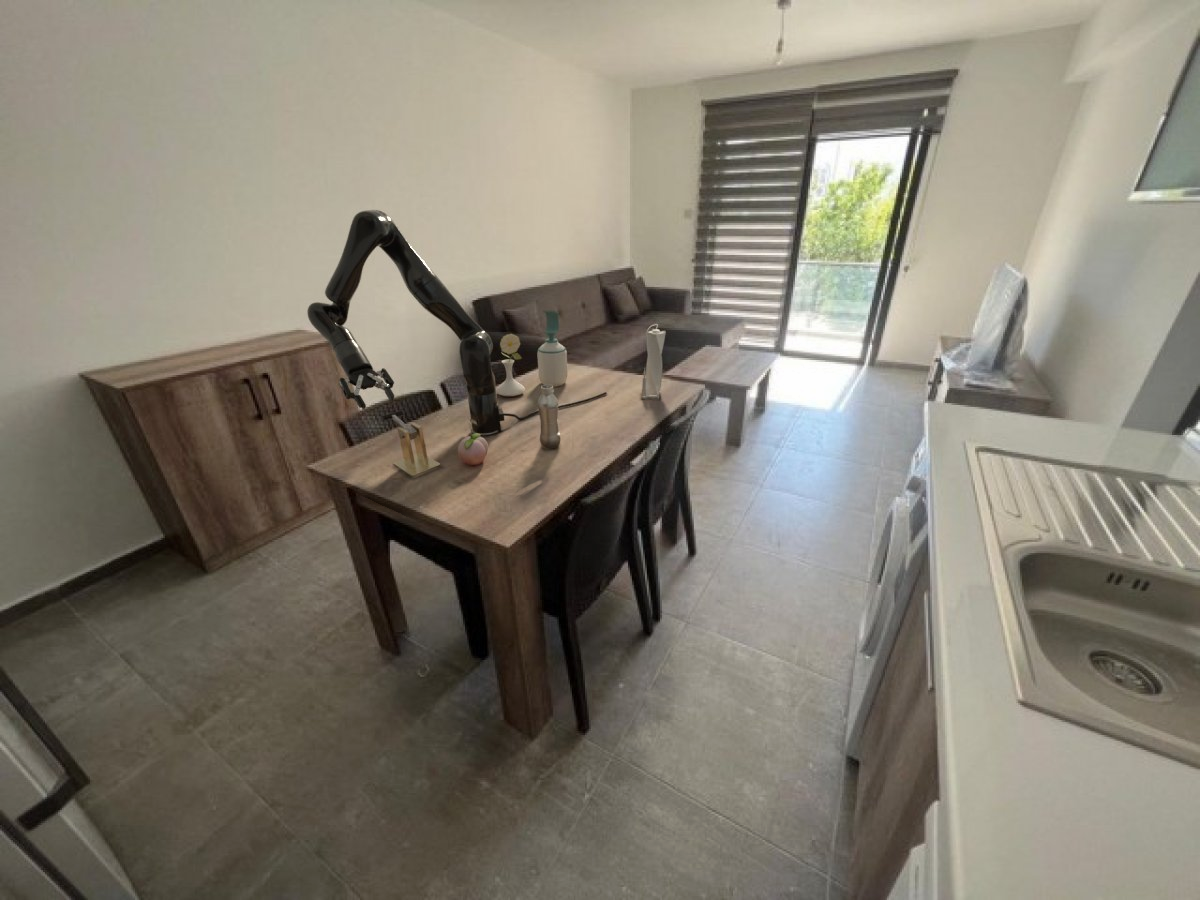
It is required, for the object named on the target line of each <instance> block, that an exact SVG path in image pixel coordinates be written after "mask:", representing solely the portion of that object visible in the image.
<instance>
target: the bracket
mask: <svg viewBox="0 0 1200 900" xmlns="http://www.w3.org/2000/svg"><path fill="white" fill-rule="evenodd" d="M411 426H412V427H413V428H414V429H415V430H416V431H417V438H415V439H413V442H414V448H415V453H416V454H414V452H413V447H412V442H411V440H410V437H409V432H408V431H407V430H405V429H403V428H401V427H400V426H399V427H397V434H398V437H399V443H400V447H401V452H402V456H403V459H400V460H398V461H395V462H392V464H393V465H394V466H395V467H397V468H399V470H401V471H403V472H405V473H407V474H408V475H409V476H410V477H414V476H417V475H420V474H422V473H424V472H426V471H429V470H432V469H435V468H436V467H439V466H441V465H442V464H441V463H440V462H439V461H437V460H434V459H433V458H431V457H429V456H428V454H427V448H426V443H425V442H426V441H425V437H424V431H423V427H422V426H421V425H419V424H417V423H416V422H411V423H410V427H411Z"/></svg>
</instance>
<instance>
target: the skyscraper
mask: <svg viewBox="0 0 1200 900" xmlns="http://www.w3.org/2000/svg"><path fill="white" fill-rule="evenodd" d="M654 326H656V327H655V328H654V329H651V328H652V327H654ZM658 327H659V324H658V323H653V324H651V325H650V326H649V327H648V328H647V329H646V331H645V333H646V334H645V335H646V351H647V358H646V366H645V367H644V369H643V377H642V384H641V385H642V386H641V398H640V399H641V400H648V401H649V400H651V401H659V400H660V393H661V387H662V379H663V357H662V354H663V350H664V345H665V339H666V334H667V333H666V330H660V329H658ZM650 329H651V331H649V330H650ZM659 391H660V392H659ZM658 394H659V395H658ZM649 395H657V396H649ZM642 396H645V397H642Z"/></svg>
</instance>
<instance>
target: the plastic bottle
mask: <svg viewBox="0 0 1200 900" xmlns="http://www.w3.org/2000/svg"><path fill="white" fill-rule="evenodd" d="M554 391H555V390H554V387H553V386H552V385H544V384H542V385H541V386H540V393H541V395H540V396H539V398H538V400H537V404H536V405H537V411H539V413H538V414H539V419H540V434H539V442H540V445H541V446H542V447H543V448H544V449H547V450H548V449H550V450H551V449H555V448H557V447H559V445H560V444H561V434H560V429H559V423H558V421H559V420H558V419H559V417H558V414H559V408H558V406H559V400H558V398H557V397H556V395H555V394H554Z"/></svg>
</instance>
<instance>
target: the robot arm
mask: <svg viewBox="0 0 1200 900" xmlns="http://www.w3.org/2000/svg"><path fill="white" fill-rule="evenodd" d="M377 247H379V248H380V249H381V250H382V251H383V252H384V253H385V254H386V255H387V256H388V257H389V258H390V260H391V261H392V262H393V263H394V265H395V266H396V268H397V270H398V272H399V274H400V276H401V278H402V280H403V283H404V284H405V286H406V289H407V290H408V292H409V293H410V294H411V296H413V298H414V299H415V300H416V302H418V304H419V305H420V306H421V307H422V308H423V309H425V311H426V312H428V313H429V314H431V315H432V316H433V317H435V318H436V319H437V320H439V321H441V322H442V323H443V324H444V325H446V326H447V327H448V328H449V329H450V330H451V331H452V332H453V333H454V334H455V336H456V337H457V338H458V339H459V341H460V343H459V346H458V351H459V359H460V365H461V371H462V376H463V378H464V380H465V386H466V393H467V401H468V407H469V408H468V409H469V415H470V418H469V423H471V424H470V425H471V432H472V434H475V433H478V434H481V435H480V437H487V436H492V435H496V434H498V433H501V432H502V425H501V422H505V417H514V418H516V420H519V421H522V420H526V419H528V418H530V417H532V416H534V415H536V414H539V410H536V411H533V412H531V413H529V414H527V415H525V416H523V417H519V416H518V415H517V414H515V413H507V412H506V413H505V412H504V411H503V408H501V407H499V403H498V396H497V388H496V377H495V372H494V371H493V368H492V362H491V354H492V352H493V349H494V344H493V340H492V338H491V336H490V335H489V334H488V333H487V331H485V330H484V329H483V328H482V327H481V326H480V325H479V324H478V323H477V322H476V321H475V320H474V319H473V318H472V317H471V316H470V315H469V314H468V312H466V310H465V309H464V308H463V307H462V305H461V304H460V303H459V301H458V300H457V298H456V297H454V295H453V294H452V292H451V291H450V290H449V289H448V287H446V285H445V284H444V283H443V282H442V280H441V279H440V278H439V277H438V276H437V274H436V273H435V272H434V271H433V270H432V269H431V268H430V266H429V265H428V264H427V263H426V262H425V261H424V259H423V258H422V257H421V256H420V255H419V254H418V253H417V252H416V251H415V249H414V248H413V247H412V245H410V243H409V241H408V240H407V239H406V237H405V236H404V235H403V233H402V232H401V230H400V229H399V227H398V226H397V225H396V223H395V222H394V220H393V219H392V218H391V217H390V216H389V215H388V214H387V213H385V212H384V211H382V210H379V209H369V210H361V211H359V212H357V213H356V214H355V215H354V217H353V218H352V221H351V224H350V228H349V230H348V234H347V238H346V241H345V245H344V248H343V251H342V253H341V257H340V259H339V260H338V263H337V265H336V268H335V269H334V272H333V273H332V276H331V277H330V279H329V281H328V282H327V285H326V287H325V290H324V295H325V297H326V298H327V299H328V301H330V302H332V303H328V302H327V303H326V302H318V301H317V302H315V301H314V302H311V303H310V304H309V305H308V307H307V313H306V314H307V318H308V320H309V322H310V324H311V325H312V326H313V328H314V329H315V330H316V331H317V332H318V333H319V334H320V335H321V336H322V337H323V338H324V339H325V340H327V342H328V343H329V345H330V347H331V348H332V350H333V352H334V355H335V357H336V359H337V363H339V365H340V366H341V368H342V370H343V372H344V373H345V376H347V378H344V377H340V378H339V381H338V385H339V387H340V390H341V391H342V393H343V395H344V398H345V399H346V400H350V399H351V400H352V399H353V400H354V401H355V403H356V405H357V406H358V407H359V408H360V409H361V410H365V409H366V408H367V404H366V403H365V401H364V399H363V398H362V395H361V394H360V390H367V389H373V388H376V389H381V390H383V391H384V394H385V395H386V397H387V398H388V400H389V402H393V401H394V399H395V394H394V392H393V390H392V389H393V388H394V384H395V381H394V380H393V378H392V376H391V375H390V374H389V373H388V371H387V369H386V368H385V367H384V368H381V370H375V369H374V367H373V366H372V364H371V362H370V359H368V356H367V355H366V354H365V351H364V350H363V348H362V347H361V346H360V344H359V343H358V342H357V340H356V338H355V337H354V335H353V333H352V332H351V330H350V329H349V328H348V327H346V326H344V325H345V324H346V323H347V320H348V316H349V311H350V310H349V309H350V306H351V305H350V304H351V301H352V299H353V297H354V295H355V293H356V291H357V289H358V288H359V285H360V283H361V279H362V274H363V271H364V270H363V269H364V266H365V264H366V261H367V260H368V258H369V257H370V256H371V254H372V253H373V252H374V250H375V249H376V248H377ZM349 384H350V385H353V386H354V387H355V389H354V392H352V391H351V389H350V388H349ZM607 394H608V393H607V392H606V391H605V392H603V393H600V394H597V395H595V396H591V397H589V398H586V399H582V400H578V401H575V402H571V403H566V404H561V405H558V409H562V408H567V407H570V406H574V405H578V404H583V403H586V402H590V401H591V400H594V399H597V398H600V397H602V396H605V395H607Z"/></svg>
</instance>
